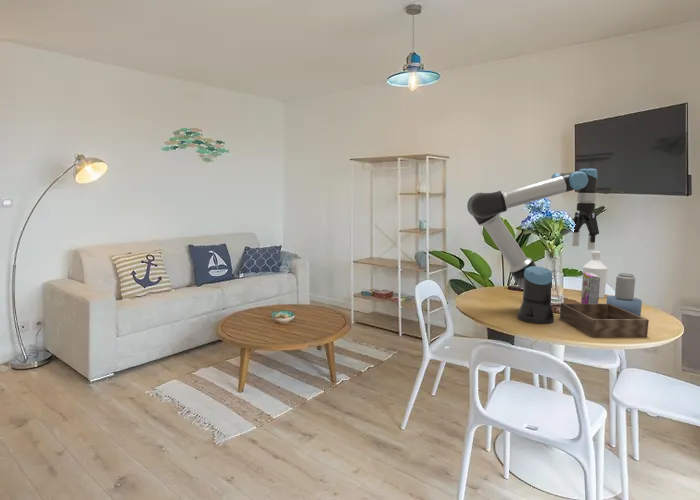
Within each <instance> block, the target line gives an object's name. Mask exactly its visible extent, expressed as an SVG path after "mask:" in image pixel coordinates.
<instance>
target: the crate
mask: <svg viewBox="0 0 700 500" xmlns="http://www.w3.org/2000/svg"><path fill="white" fill-rule="evenodd" d="M559 319H560V320H562V321H564V322H566V323H567V324H569V325H571V326H572V327H574V328H576V329H577V330H579V331H580V332H582V333H584V334H586V335H588V336H590V337H591V338H648V331H649V321H650V320H649V319H647V318H646V317H642V316H641V317H640V316H638V315H635V314H633V313H631V312H628V311H626V310H624V309H621V308H619V307H616V306H614V305H612V304H606V303H598V304H582V303H562V304H561V306H560V311H559Z"/></svg>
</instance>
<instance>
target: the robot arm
mask: <svg viewBox="0 0 700 500" xmlns="http://www.w3.org/2000/svg"><path fill="white" fill-rule="evenodd" d="M598 179H599V178H598V170H597V169H596V168H580V169H579V170H578V171H574V172H573V171H572V172H561V173H559V172H558V173H557V172H556V173H553V174H552V175H551V177H550V178H549V179H545V180H542V181H539V182H535V183H532V184H527V185H524V186H519V187H517V188H514V189H510V190H507V191H506V190H505V191H502V190H498V191H494V192H476V193H474V194H473V195H472V196H470V197H469V199H468V201H467V204H466V205H467V211H468V213H469V214H470V216H472V217H473V218H474V220H475V221H476V222H477V224H478V226H481V227H484V229H485V230H486V232H487V233H488V235H489V236H490V238H491V239H492V241H493V243H494V244H495V245H496V247H497V249H498V250H499V251H500V253H501V255H502V256H503V258H504V259H505V261H506V262H507V263H508V265H509V266H510V268H509V272H510V273H511V275H512V276H513V280H514V282H515V283H516V285H517V286H518V287H519V288H521V289H523V293H522V294H523V295H522V303H521V305H520V308H519V310H518V312H517V318H518V319H519V320H521V321H524V322H527V323H530V324H551V323H553V322H554V320H555V316H554V312H553V308H552V305H551V304H550V303H551V288H552V279H553V278H552V272H553V271H551V269H549V268H547V267H543V266H538V265H536V263H535V262H534V261H533V259H532V258H531V257H527V256H526V254H525V253H524V251H523V249H522V248H521V247H520V245H519V243H518V242H517V241H516V240H515V237H514V236H513V235H512V233H511V231H510V230H509V228H508V227H507V226H506V224H505V223H504V221H503V219H502V218H501V214H502V213H505V212H507V211H508V209H511V208H515V207H517V206H521V205H525V204H528V203H529V204H530V203H532V202H536V201H539V200H542V199H545V198H549V197H554V196H557V195H560V194H565V193H567V192H572V191H575V190H577V200H576V201H577V203H576V211H577V212H575V213H574V218H573V220H572V222H573V221H574V222H575V224H576V225H575V227H574V229H575V230H574V232H573V231H571V232H572V244H571V245H572V247H579V246H580V245H579V244H580V230H581V228H582V226H583V224H584V225H585V226H586V228H587V230H588V233H589V234H588V240H587V250H589V251H590V250H591V251H595V247H596V246H595V245H596V236H597V235H599V234H600V230H599V225H598V220H597V213H594V211H595V210H596V203H595V202H596V197H597V185H598Z"/></svg>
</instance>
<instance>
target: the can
mask: <svg viewBox="0 0 700 500" xmlns="http://www.w3.org/2000/svg"><path fill="white" fill-rule="evenodd" d="M635 287H636V277H635V276H634V274H633V273H629V272H628V273H627V272H626V273H625V272H618V275H616V282H615V292H614V296H615V297H616V298H617V299H620V300H632V299H633V298H635V289H636V288H635Z"/></svg>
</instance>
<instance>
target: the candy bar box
mask: <svg viewBox="0 0 700 500" xmlns="http://www.w3.org/2000/svg"><path fill="white" fill-rule="evenodd" d="M582 279H583V282H582V284H581V301H580V304H599V299H600V298H599V283H600V277H599V276H597V275H595V274H594V273H583V272H582Z"/></svg>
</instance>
